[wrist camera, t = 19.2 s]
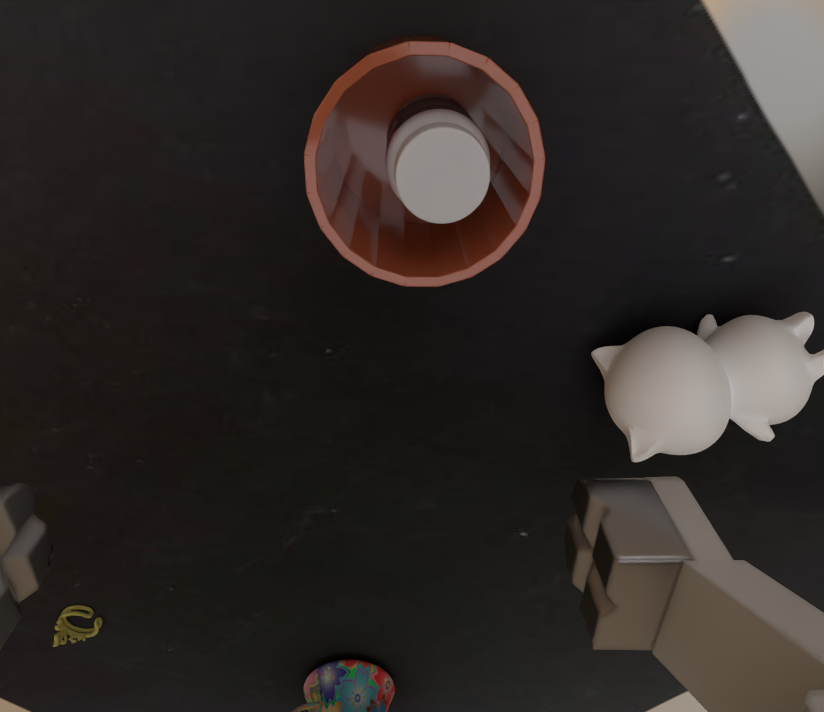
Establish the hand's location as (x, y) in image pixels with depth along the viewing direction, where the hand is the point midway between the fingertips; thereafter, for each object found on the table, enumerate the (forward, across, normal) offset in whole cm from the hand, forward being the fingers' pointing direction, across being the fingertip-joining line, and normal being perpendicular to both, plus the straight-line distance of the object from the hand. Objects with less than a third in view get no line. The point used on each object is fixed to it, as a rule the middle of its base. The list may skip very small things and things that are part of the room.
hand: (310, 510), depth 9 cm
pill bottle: (+27, -3, -1) cm, 27 cm away
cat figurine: (+28, -20, +14) cm, 37 cm away
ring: (+28, +26, +39) cm, 54 cm away
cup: (+28, -3, -1) cm, 28 cm away
